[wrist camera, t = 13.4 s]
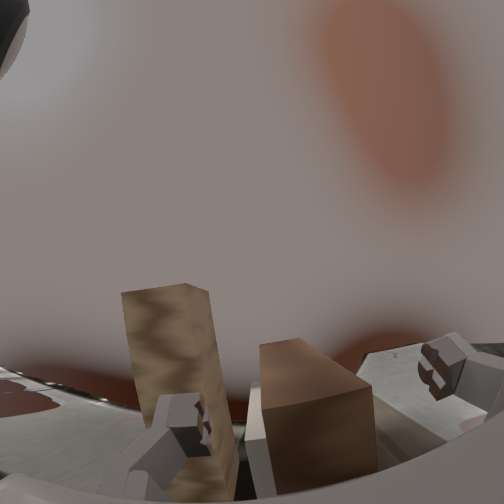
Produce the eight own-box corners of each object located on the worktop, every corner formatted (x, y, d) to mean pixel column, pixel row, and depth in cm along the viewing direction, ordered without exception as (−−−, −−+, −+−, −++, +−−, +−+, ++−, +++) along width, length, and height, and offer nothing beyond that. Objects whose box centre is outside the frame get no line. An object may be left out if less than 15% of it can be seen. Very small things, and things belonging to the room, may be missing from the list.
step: (277, 578, 12) (244, 440, 15) (272, 492, 27) (251, 382, 29) (365, 560, 12) (364, 416, 15) (331, 481, 27) (317, 370, 29)
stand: (172, 509, 24) (121, 292, 28) (193, 463, 36) (160, 298, 41) (232, 509, 24) (185, 283, 28) (239, 461, 36) (208, 291, 41)
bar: (277, 498, 9) (261, 409, 9) (266, 384, 28) (259, 344, 29) (376, 475, 9) (371, 385, 9) (305, 377, 28) (299, 337, 29)
